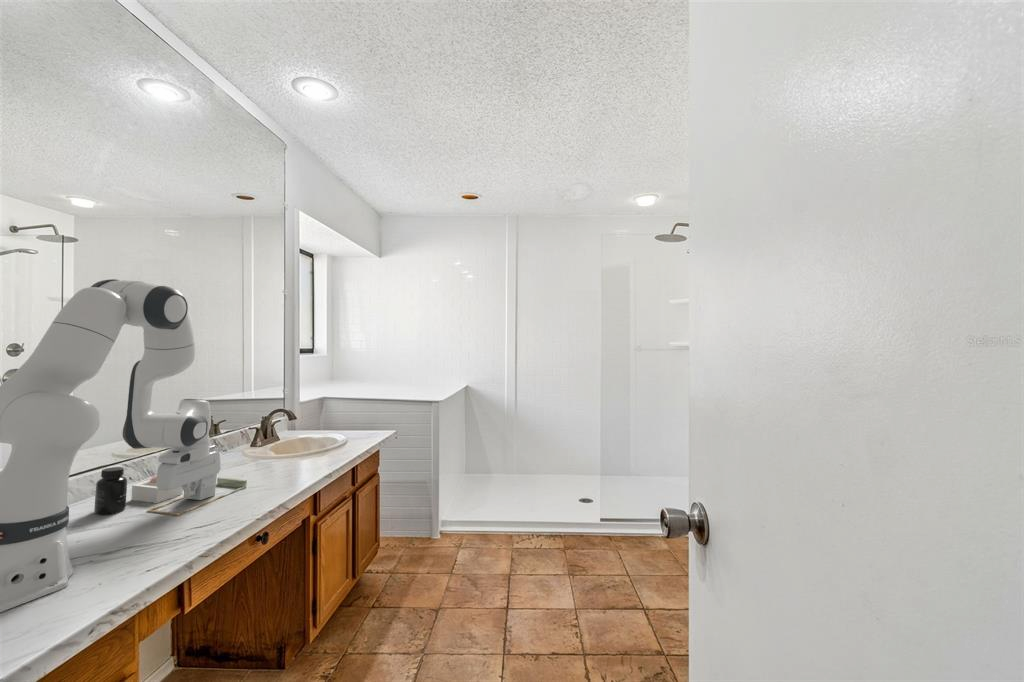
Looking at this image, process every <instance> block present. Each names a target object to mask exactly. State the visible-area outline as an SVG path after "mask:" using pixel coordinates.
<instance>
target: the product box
mask: <svg viewBox="0 0 1024 682" xmlns="http://www.w3.org/2000/svg"><path fill="white" fill-rule="evenodd" d="M217 476H218V474H217V473H214V474H210V475H207V476H204V477H202V479H201V480H199V484H198V486H197V488H196V490H195V495H194V496H191V497H188V498H187V497H184V496H182V497H183V498H184V499H186V500H196V501H202V500H204V499H208V498H210V497H213V496H215V495H216V487H217V486H216V484H217V478H218V477H217ZM189 487H190V486H189Z"/></svg>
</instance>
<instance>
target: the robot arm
mask: <svg viewBox="0 0 1024 682" xmlns="http://www.w3.org/2000/svg"><path fill="white" fill-rule="evenodd" d="M188 307H189V306H188V302H187V300H186V298H185V296H184V294H183V293H182V292H181V291H179V290H177V289H175V288H173V287H170V286H166V285H158V284H154V283H147V282H144V281H140V280H139V281H138V280H119V279H117V278H116V279H113V278H112V279H105V280H104V279H103V280H99V281H97V282H96V283H94V284H92V285H91V286H89V287H85V288H82V289H80V290H78V291H77V292H76V293H75V294H74V295H73V296H72V297H71V298H70V299H69V300H68V301H67V302H66V303H65V305H63V307H62V308H61V309H60V310H59V312H58V313H57V315H56V316H55V317H54V319H53V321H52V322H51V324H50V326H49V327H48V329H47V331H46V332H45V333H44V335H43V336H42V338H41V339H40V342H38V344H37V346H36V347H35V349H34V350H33V352H32V353H31V355H30V356H29V357H28V358H27V360H25V362H24V363H23V364H22V365H20V367H19V368H17V370H16V371H14V373H13V374H11V375H10V376H9V377H8V378H6V380H5V381H4V382H3V383H2V384H0V444H1V443H2V444H9V445H11V451H10V454H9V458H8V459H7V462H6V464H5V466H4V467H3V469H2V470H0V613H2V612H5V611H7V610H11V609H12V608H13V609H14V608H16V607H17V606H20V605H23V604H25V603H28V602H31V601H33V600H36V599H38V598H42V597H43V596H46V595H49V594H51V593H54V592H57V591H58V590H62V589H64V588H66V587H67V586H68V585H69V580H68V579H69V578H70V577H71V576H72V575H73V574H74V568H73V565H72V563H71V560H70V555H69V550H68V542H67V527H68V525H69V523H70V522H69V521H70V507H69V505H68V504H67V503H68V492H69V491H68V490H69V482H70V481H69V479H70V472H71V469H72V466H73V463H74V460H75V459H76V458H75V457H76V456H77V454H78V452H79V450H80V449H81V447H82V446H83V445H84V444H85V443H86V442H88V441H89V440H90V439H92V437H94V436H95V434H96V433H97V431H98V429H99V427H100V424H101V423H100V422H101V416H100V412H99V410H98V408H97V407H96V406H95V405H94V404H92V403H90V402H89V401H86V400H85V399H82V398H81V397H80V398H79V397H77V396H74V395H71V394H72V393H73V392H74V391H75V390H76V389H77V388H78V387H80V385H82V384H83V383H85V382H86V381H89V380H91V379H93V378H94V377H95V376H97V375H98V373H99V372H100V371H101V368H102V367H103V364H104V363H105V361H106V359H107V357H108V355H109V354H110V352H111V350H112V348H113V346H114V344H115V342H116V340H117V339H118V337H119V334H120V332H121V329H122V327H123V326H124V325H129V326H131V327H132V326H133V327H140V328H141V327H142V329H143V333H142V334H143V347H144V351H143V355H142V357H141V359H140V360H137V361H136V362H135V363H134V365H133V367H132V368H131V373H130V377H129V386H128V396H127V408H126V417H125V420H124V423H123V428H122V438H123V440H124V442H125V443H126V444H127V445H128V446H129V447H130V448H132V449H134V450H135V449H136V450H138V449H140V450H141V449H151V448H155V449H156V448H159V449H160V448H161V449H163V448H166V449H168V450H167V451H165V452H163V453H162V454H160V455H159V456H158V462H159V463H160V464H159V465H158V467H157V472H156V476H157V479H156V486H157V488H158V489H159V490H164V491H169V490H172V489H175V488H178V487H182V489H183V497H187V498H188V497H191V496H194V495H195V490H196V488H197V486H198V484H199V480H201V479H202V477H204V476H207V475H210V474H214V473H217V475H218V474H219V473H220V471H221V466H222V465H221V463H222V462H221V455H220V453H219V451H220V449H219V447H218V446H216V445H215V444H214V445H210V443H211V439H210V430H211V426H212V411H211V404H210V401H208V400H206V399H201V398H200V399H197V398H184V399H181V400H180V401H179V404H178V409H177V411H176V412H174V413H164V412H163V413H162V412H161V413H160V412H157V413H156V412H155V411H153V410H152V409H151V405H152V404H151V403H152V397H153V395H152V394H153V393H152V392H153V386H154V384H155V382H157V381H160V380H165V379H167V378H171V377H173V376H177V375H178V374H180V373H183V372H184V371H185V370H187V369H188V368H190V366H191V365H192V364H193V362H194V361H195V355H196V349H195V348H196V347H195V346H196V345H195V338H194V332H193V331H194V330H193V327H192V323H191V319H190V316H189V313H188V309H189V308H188ZM169 448H170V449H169ZM189 486H190V487H189Z"/></svg>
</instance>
